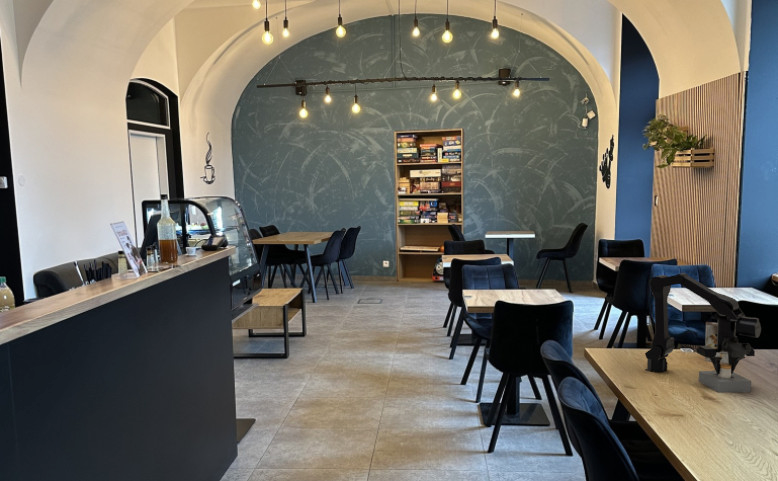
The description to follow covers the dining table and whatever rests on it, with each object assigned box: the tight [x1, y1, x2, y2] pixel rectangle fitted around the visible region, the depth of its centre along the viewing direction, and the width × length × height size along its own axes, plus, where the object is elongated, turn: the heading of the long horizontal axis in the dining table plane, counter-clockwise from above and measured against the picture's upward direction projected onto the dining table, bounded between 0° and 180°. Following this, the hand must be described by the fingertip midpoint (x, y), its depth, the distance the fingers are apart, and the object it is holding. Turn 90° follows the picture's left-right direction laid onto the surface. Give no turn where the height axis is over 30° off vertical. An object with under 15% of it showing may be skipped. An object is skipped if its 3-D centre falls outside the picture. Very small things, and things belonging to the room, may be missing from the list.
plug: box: [718, 363, 731, 378], centre depth 207 cm, size 4×4×8 cm
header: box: [698, 370, 752, 394], centre depth 207 cm, size 12×12×5 cm
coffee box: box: [704, 321, 729, 364], centre depth 241 cm, size 9×6×16 cm
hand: (724, 373), depth 207 cm, fingers open, 5 cm apart
